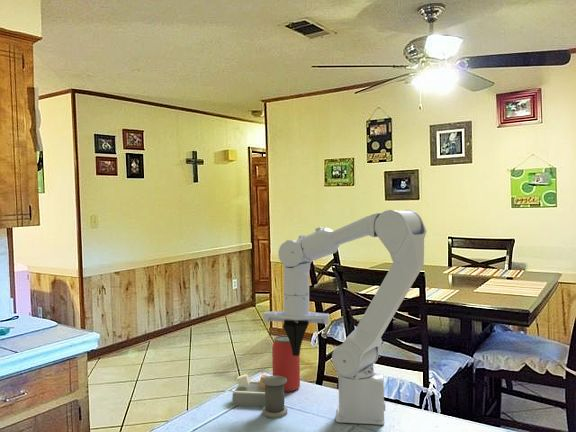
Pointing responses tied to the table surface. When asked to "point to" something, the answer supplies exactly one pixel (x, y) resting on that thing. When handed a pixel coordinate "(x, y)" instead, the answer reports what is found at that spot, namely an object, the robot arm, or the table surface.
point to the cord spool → (274, 396)
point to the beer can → (286, 363)
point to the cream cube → (243, 380)
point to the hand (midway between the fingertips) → (296, 354)
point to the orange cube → (261, 380)
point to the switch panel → (250, 395)
